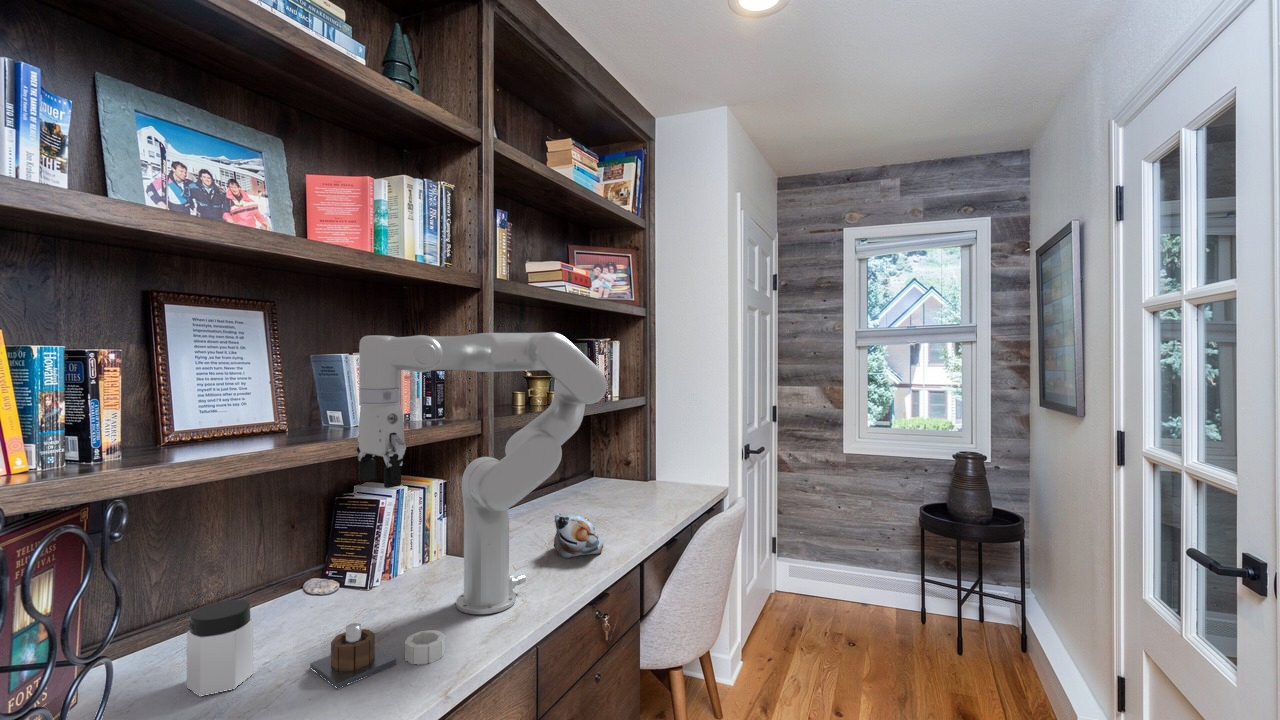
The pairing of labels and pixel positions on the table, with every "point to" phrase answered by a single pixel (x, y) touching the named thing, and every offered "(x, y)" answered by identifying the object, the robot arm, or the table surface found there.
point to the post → (345, 677)
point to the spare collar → (424, 647)
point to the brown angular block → (352, 651)
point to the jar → (219, 647)
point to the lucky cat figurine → (576, 536)
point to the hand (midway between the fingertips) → (379, 483)
